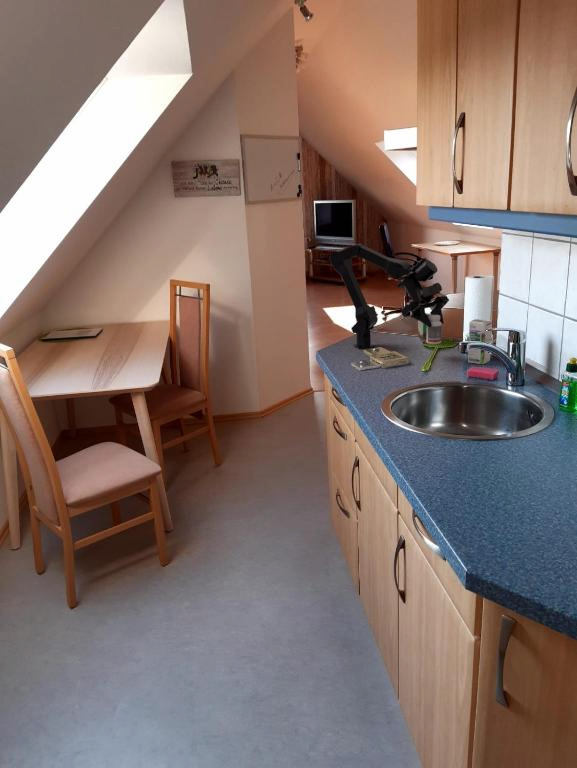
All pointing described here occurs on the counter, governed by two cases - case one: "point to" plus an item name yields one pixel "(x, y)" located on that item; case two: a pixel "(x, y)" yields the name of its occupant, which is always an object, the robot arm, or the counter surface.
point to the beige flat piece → (380, 359)
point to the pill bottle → (434, 330)
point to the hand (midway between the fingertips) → (436, 325)
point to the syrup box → (479, 334)
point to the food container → (422, 330)
